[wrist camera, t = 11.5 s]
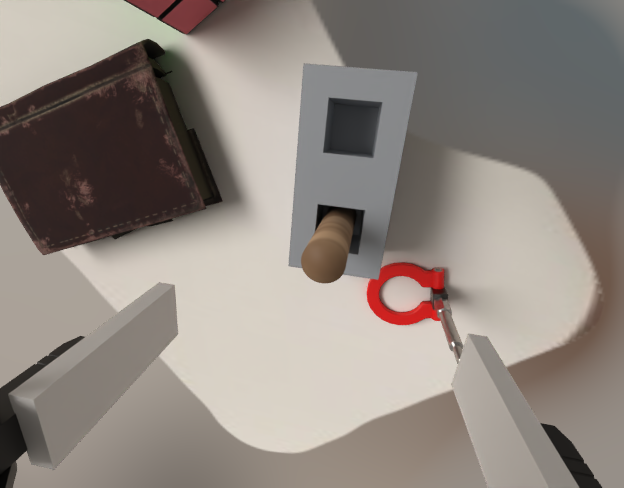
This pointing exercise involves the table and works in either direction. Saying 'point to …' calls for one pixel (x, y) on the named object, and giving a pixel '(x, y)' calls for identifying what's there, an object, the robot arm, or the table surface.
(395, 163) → the socket block
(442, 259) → the table surface
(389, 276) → the tow hook
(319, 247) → the walnut pin
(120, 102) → the diary
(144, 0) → the puzzle cube
